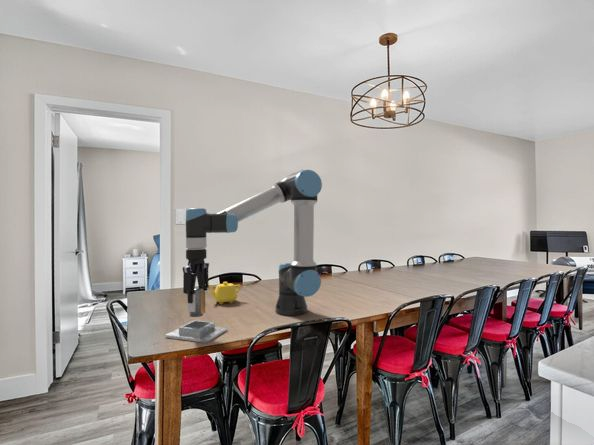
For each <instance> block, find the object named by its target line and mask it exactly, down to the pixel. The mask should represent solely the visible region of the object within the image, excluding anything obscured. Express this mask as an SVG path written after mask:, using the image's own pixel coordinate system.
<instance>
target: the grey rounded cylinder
mask: <svg viewBox="0 0 594 445" xmlns="http://www.w3.org/2000/svg"><path fill="white" fill-rule="evenodd" d="M194 294H195V312H190V311H188V313H189V317H190V318H200V317H203V316H204V315H205V313H206V291H205V292H204V291H203V288H199V287H195V289H194Z"/></svg>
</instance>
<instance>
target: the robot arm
mask: <svg viewBox="0 0 594 445" xmlns="http://www.w3.org/2000/svg"><path fill="white" fill-rule="evenodd" d="M322 188H323V183H322V179H321V176H320V175H319V174H318V173H317V172H315V171H314V170H312V169H301V170H299V171H297V172H293V173H291V174H289V175H287V176H286V177H284V178H283V179H281V180H279V181H278V182H275V183H274V184H272V187H270V188H268V189H266V190H264V191H261V192H259V193H257V194H255V195H253V196H251V197H249V198H246V199H245V200H242V201H239V202H238V203H236V204H233V205H232V206H230V207H227V208H225V209H223V210H221V211H219V212H217V213H210V212H209V213H208V212H207V209H206V208H197V207H196V208H195V207H194V208H193V207H192V208H188V209H186V211H185V247H186V250H185V258H186V260H188V261H187V265H186V266H182V273H183V278H182V280H183V284H182V285H183V287H182V288H183V290H182V291H183V294H185V295H187V312H189V311H190V312H195V294H194V289H195V288H196V283H197V286H198V288H203V291H204V292H205V293H206V291H208V288H210V287H209V285H210V284H209V266H210V262H205V259H207V249H206V248H207V246H208V244H207V233H208V234H211V233H215V234H217V233H219V234H221V233H222V234H223V233H227V234H229V233H235V232H237V231H238V227H239V226H238V225H239V222H241V221H244V220H246V219H247V218H249V217H252V216H254V215H256V214H258V213H260V212H262V211H264V210H266V209H268V208H271V207H272V206H273V207H274V205H277V204H279V203H281V204H283V203H285V202H288V201H290V202H291V204H293V212H294V213H293V260H292V261H291V262H283V263H280V264H279V265H278V298H277V301H276V304H275V313H276V314H279V315H283V316H300V315H303V314H306V313H307V312H308V304H307V301H306V299H305V298H307V297H308V298H309V297H312V296H314V295H315V294H316V293H317V292H318V291H319V290H320V288H321V284H322V278H321V276H320V274H319V272H317V271H318V270H317V268H318V264H317V262H315V261H314V230H315V228H314V225H315V224H314V222H315V221H314V220H315V217H314V216H315V215H314V214H315V213H314V212H315V211H314V208H315V205H317V203H318V195H319V193H320V192H321V191H322Z"/></svg>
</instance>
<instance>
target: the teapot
mask: <svg viewBox="0 0 594 445" xmlns="http://www.w3.org/2000/svg"><path fill="white" fill-rule="evenodd" d="M236 287H237V289H236ZM208 288H209V289H210V295H211V296H212V297H213V298H214V300H215V302H217V303H218V304H219V305H223V304H224V303H227V302H228V303H229V304H234V302H235V301H237V298H238V295H237V294H238V293H239V292H240V290H241V288H242V285H241V284H233V283H231V282H230V283H228V281H223V282H222V283H218V284H216V287H215V290H214V287H213V285H212V284H209V287H208Z"/></svg>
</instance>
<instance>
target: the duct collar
mask: <svg viewBox="0 0 594 445" xmlns="http://www.w3.org/2000/svg"><path fill="white" fill-rule="evenodd" d="M227 331H228V327H222V326H216V322H215V321H206V320H197V319H194V320H191V321H190V322H187V323H185V324H183V325H181V326H179V327H178V328H177V329H174V330H173V331H170V332H167V333H166V334H165V335H164V338H167V339H172V340H179V341H180V340H182V341H189V342H197V343H205V344H208V343H210V341H213V340H214V339H216V338H217V337H219V336H220V335H223V334H224V333H226V332H227Z"/></svg>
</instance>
